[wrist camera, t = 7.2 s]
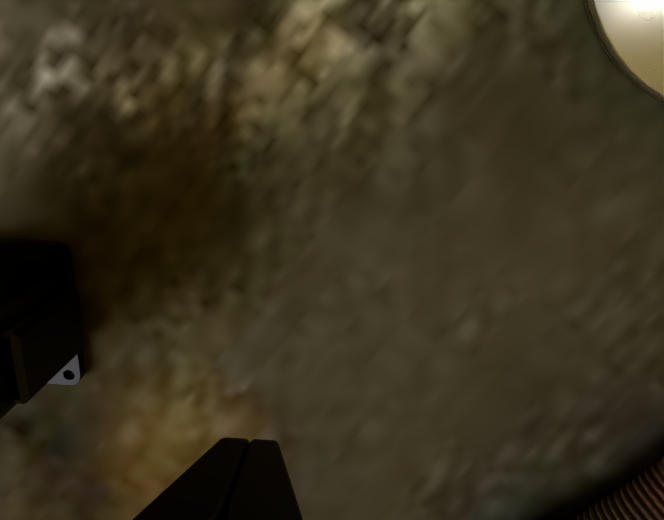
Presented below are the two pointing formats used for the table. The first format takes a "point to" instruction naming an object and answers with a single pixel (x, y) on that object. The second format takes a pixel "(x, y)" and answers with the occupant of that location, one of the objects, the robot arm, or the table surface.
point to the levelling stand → (632, 39)
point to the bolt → (634, 499)
